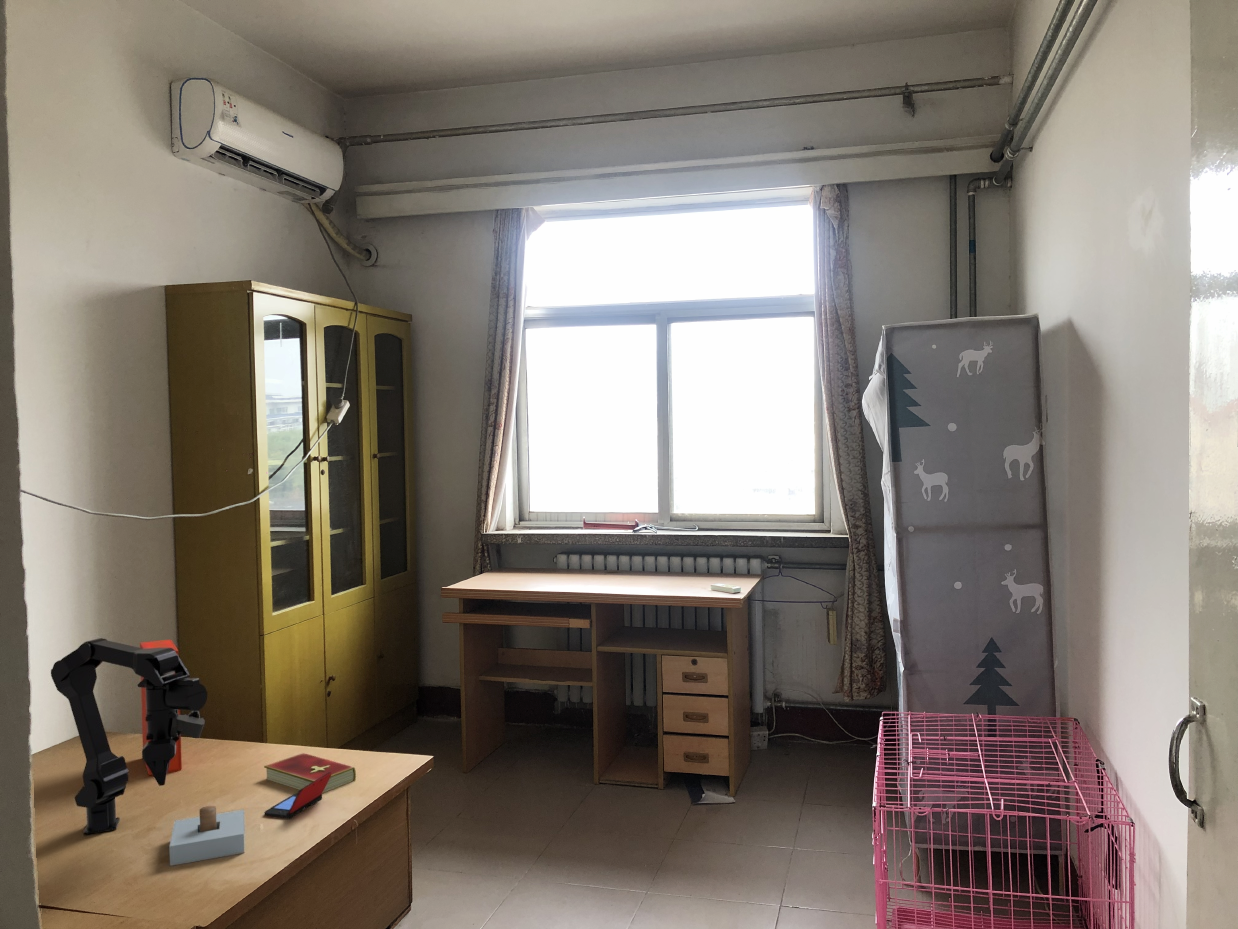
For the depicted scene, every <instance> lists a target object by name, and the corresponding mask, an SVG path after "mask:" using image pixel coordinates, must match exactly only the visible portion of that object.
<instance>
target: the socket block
mask: <svg viewBox="0 0 1238 929" xmlns="http://www.w3.org/2000/svg"><path fill="white" fill-rule="evenodd" d="M245 822H246V821H245V809H238V810H233V811H227V812H221V813H219V812H218V813H216V824H217V830H211V831H205V832H200V816H197V817H189V818H182V819H178V820H177V819H176V820H174V822H173V828H172V833H171V837H170V841H169V866H170V867H172V866H177V865H181V864H182V865H184V864H189V863H192V862H198V861H200V862H201V861H205V860H210V859H218V858H221V857H222V858H223V857H227V856H234V855H238V854H244V853H245V840H246V839H245V838H246V837H245V833H246V832H245V831H246V829H245V828H246V823H245Z"/></svg>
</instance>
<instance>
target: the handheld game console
mask: <svg viewBox="0 0 1238 929" xmlns="http://www.w3.org/2000/svg"><path fill="white" fill-rule="evenodd" d="M331 775H332V772H329V773H327V774H325V775H324V776H322V777H320V778H319V779H317V780H315V781H314V782H312V783H310V784H309V785H307V786H305V787H304V788H302V789H301V790H299V791H298V792H296V793H294V794H291V795H289V796H288V797H287V798H285V799H283V800H282V801H280V802H278V803H276V804H275V805H273V806H271V807H270V808H268V809H267V810H265V811H264V812H263V813H264V814H263V815H264V817H269V818H275V819H286V820H291V819H292V818H294V817H295V816H297V815H298V814H300V813H302V812H303V811H304V809H307V808H309V807H311V806H313V805H314V804H316V803H317V802H320V801H321V800H322V799H323V793H324V792H323V791H324V789H325V787H326V785H327V783H328V781H329V779H330V777H331Z"/></svg>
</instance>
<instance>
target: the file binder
mask: <svg viewBox="0 0 1238 929" xmlns="http://www.w3.org/2000/svg"><path fill="white" fill-rule="evenodd" d="M139 648H143V649H149V648H172V649H174V650H175V651H176V654H177V655H178V656H180V655H179V649H178V648H177V647H176V645H175V644H174V642H173V640H172V639H162V640H153V641H145V642H144V641H143V642H140V643H139ZM172 674H175V672H174V673H171V674H168V675H165V676H169V675H172ZM165 676H161V678H162V677H165ZM143 679H144V678H143V677H141V676H140V682H141V681H142V680H143ZM140 691H141V692H140V698H141V726H142V727H141V730H142V731H141V732H142V748H143V747H144V745H145V744H146V743H147V742H148V741H150V740H146V735H147V721H146V714H147V712H146V688H142V687H140ZM178 714H179V715H181V710H178ZM181 737H182V734H180V738H179V740H178V741H177V742H176V754H175V757H174V758H172V759H171V760H170V764H169V770H168V771H167V774H169V773H175V772H179V771H182V769H183V768H182V767H183V766H182V764H183V763H182V738H181ZM144 764H145V768H146V771H147V773H148V776H153V774H152V772H151V771H150V769H149V767H148V766H147V764H146V763H145V762H144ZM153 777H154V776H153Z"/></svg>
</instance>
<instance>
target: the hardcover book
mask: <svg viewBox="0 0 1238 929" xmlns="http://www.w3.org/2000/svg"><path fill="white" fill-rule="evenodd" d="M263 766H264V767H263V768H264V769H266V779H267V781H270V782H274V783H277V784H281V785H284V786H286V787H290V788H293V789H296V790H299V791H300V790H301V789H302V788H304V787H305V786H307V785H309V784H310V783H312V782H314V781H315V780H317V779H319V778H320V777H322V776H324V775H325V774H327V773H329V772H332V775H331V777H330V779H329V781H328V783H327V785H326V787H325V789H324V791H323V793H326V792H328V791H331V790H334V789H336V788H338V787H342V786H343V785H346V784H349V783H351V782H355V781H356V778H357V776H356V775H357V774H356V768H355V766H351V765H348V764H345V763H340V762H337V761H335V760H334V761H332V760H330V759H325V758H323V757H319V756H315V755H312V754H308V753H305V752H302V753H298V754H296V755H292V756H290V757H287V758H283V759H281V760H279V761H275V762H272V763H269V764H266V765H263Z"/></svg>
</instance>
